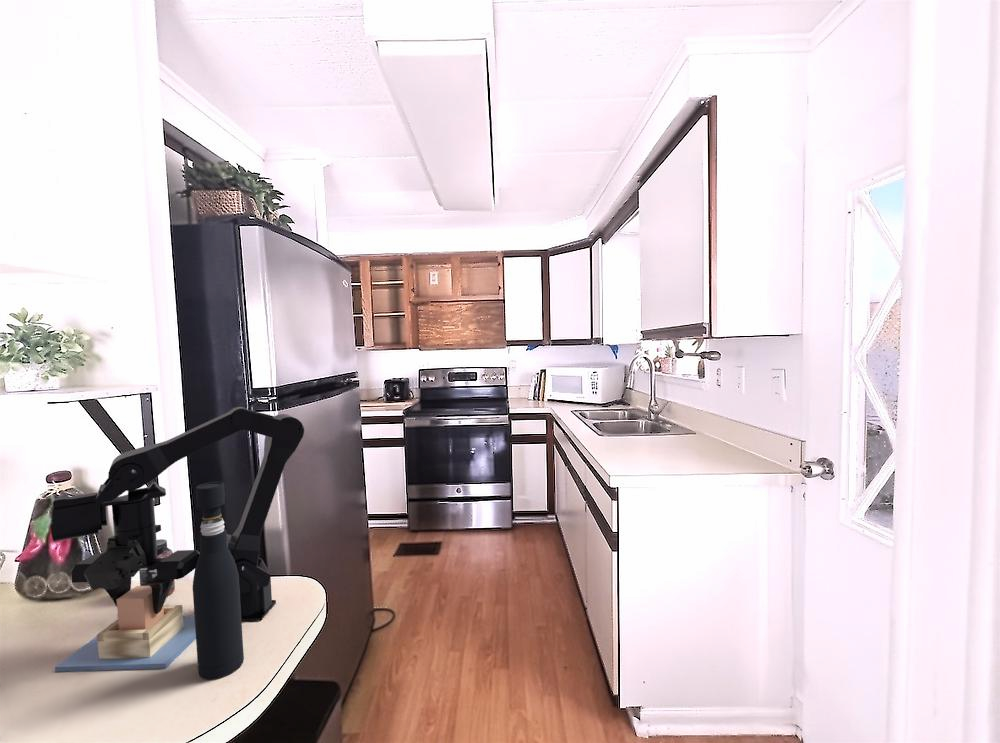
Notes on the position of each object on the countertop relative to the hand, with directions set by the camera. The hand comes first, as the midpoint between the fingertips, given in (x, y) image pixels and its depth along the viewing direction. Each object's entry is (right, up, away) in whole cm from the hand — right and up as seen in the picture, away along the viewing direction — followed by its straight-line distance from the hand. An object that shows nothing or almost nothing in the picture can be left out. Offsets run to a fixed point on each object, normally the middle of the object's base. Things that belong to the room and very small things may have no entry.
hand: (141, 613), depth 84 cm
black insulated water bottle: (+17, -6, -6) cm, 19 cm away
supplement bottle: (-10, -5, +18) cm, 22 cm away
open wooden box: (0, -6, 0) cm, 6 cm away
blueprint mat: (-1, -6, +1) cm, 6 cm away
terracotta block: (0, -2, 0) cm, 2 cm away
